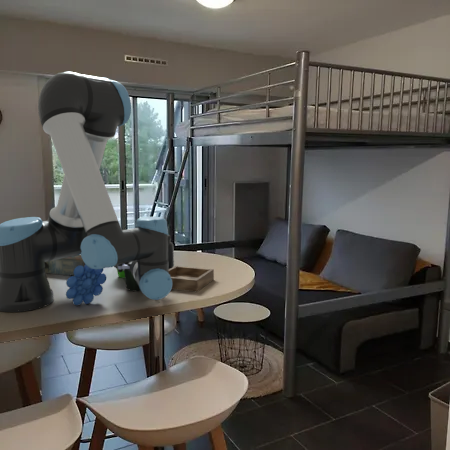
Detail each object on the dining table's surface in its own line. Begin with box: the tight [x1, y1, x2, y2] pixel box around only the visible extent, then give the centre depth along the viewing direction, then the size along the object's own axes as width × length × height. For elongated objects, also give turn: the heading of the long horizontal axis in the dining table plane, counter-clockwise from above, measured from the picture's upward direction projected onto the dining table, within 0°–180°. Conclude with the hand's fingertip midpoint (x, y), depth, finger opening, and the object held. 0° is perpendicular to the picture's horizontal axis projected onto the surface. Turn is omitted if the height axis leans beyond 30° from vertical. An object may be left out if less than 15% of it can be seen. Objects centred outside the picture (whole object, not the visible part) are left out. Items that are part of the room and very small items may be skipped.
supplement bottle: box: [168, 234, 175, 269], centre depth 158 cm, size 7×7×12 cm
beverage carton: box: [45, 254, 85, 276], centre depth 152 cm, size 8×19×7 cm, turn 71°
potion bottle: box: [124, 269, 141, 292], centre depth 132 cm, size 8×8×18 cm
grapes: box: [65, 264, 107, 306], centre depth 119 cm, size 12×7×12 cm, turn 132°
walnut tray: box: [169, 265, 215, 293], centre depth 139 cm, size 14×14×4 cm
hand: (133, 253), depth 136 cm, fingers closed on potion bottle, 8 cm apart
